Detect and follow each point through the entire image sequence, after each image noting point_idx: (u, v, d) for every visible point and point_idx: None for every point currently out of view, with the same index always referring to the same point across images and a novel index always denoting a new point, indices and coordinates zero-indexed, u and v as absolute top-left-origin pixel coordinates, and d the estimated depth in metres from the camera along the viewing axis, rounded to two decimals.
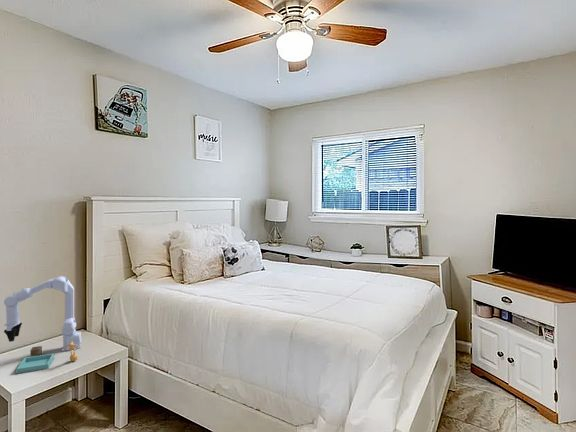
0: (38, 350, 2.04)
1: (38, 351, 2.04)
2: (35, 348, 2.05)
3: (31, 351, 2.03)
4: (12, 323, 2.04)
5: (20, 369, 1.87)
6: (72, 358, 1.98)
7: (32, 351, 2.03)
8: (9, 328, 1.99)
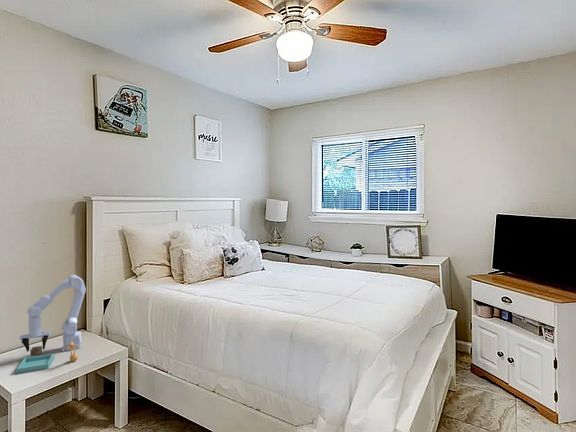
0: (38, 350, 2.04)
1: (38, 351, 2.04)
2: (35, 348, 2.05)
3: (31, 351, 2.03)
4: (29, 334, 2.04)
5: (20, 369, 1.87)
6: (72, 358, 1.98)
7: (32, 351, 2.03)
8: None
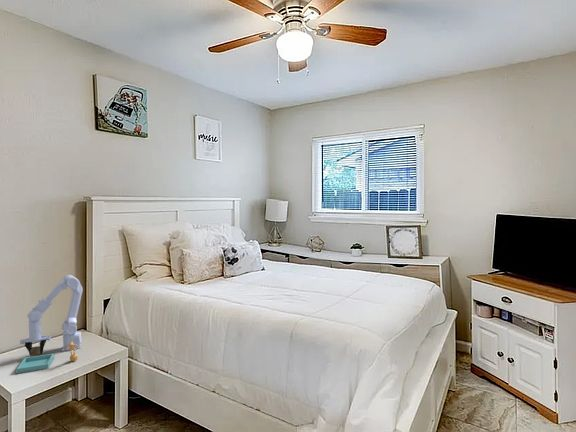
0: (38, 350, 2.04)
1: (38, 351, 2.04)
2: (35, 348, 2.05)
3: (31, 351, 2.03)
4: (29, 338, 2.04)
5: (20, 369, 1.87)
6: (72, 358, 1.98)
7: (32, 351, 2.03)
8: None
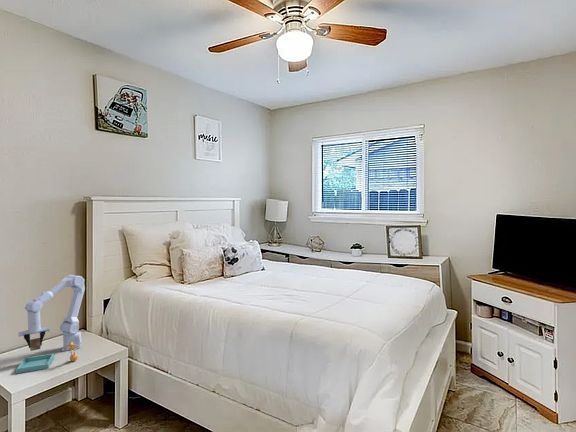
0: (38, 341, 1.99)
1: (38, 342, 1.99)
2: (34, 340, 2.00)
3: (31, 343, 1.97)
4: (28, 330, 1.98)
5: (20, 369, 1.87)
6: (72, 358, 1.98)
7: (32, 343, 1.97)
8: None
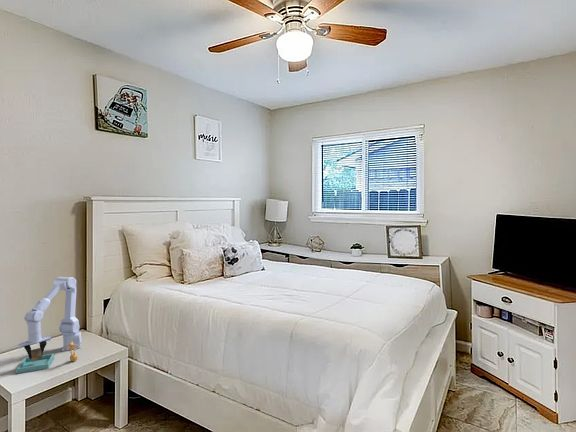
0: (40, 351, 1.95)
1: (40, 353, 1.95)
2: (34, 350, 1.94)
3: (32, 354, 1.92)
4: (29, 340, 1.92)
5: (20, 369, 1.87)
6: (72, 358, 1.98)
7: (33, 353, 1.92)
8: (18, 345, 1.89)
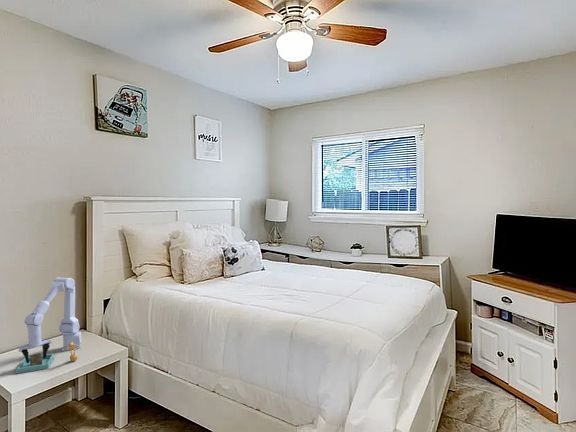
0: (40, 357, 1.95)
1: (40, 358, 1.95)
2: (34, 355, 1.95)
3: (33, 359, 1.92)
4: (29, 344, 1.92)
5: (20, 369, 1.87)
6: (72, 358, 1.98)
7: (34, 359, 1.93)
8: (19, 349, 1.89)
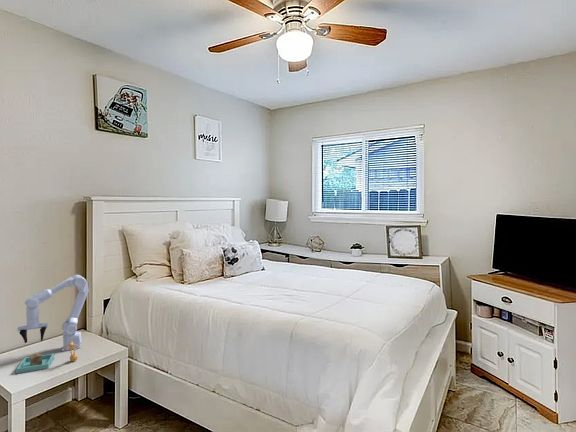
0: (40, 357, 1.95)
1: (40, 358, 1.95)
2: (34, 355, 1.95)
3: (33, 359, 1.92)
4: (27, 325, 2.03)
5: (20, 369, 1.87)
6: (72, 358, 1.98)
7: (34, 359, 1.93)
8: None
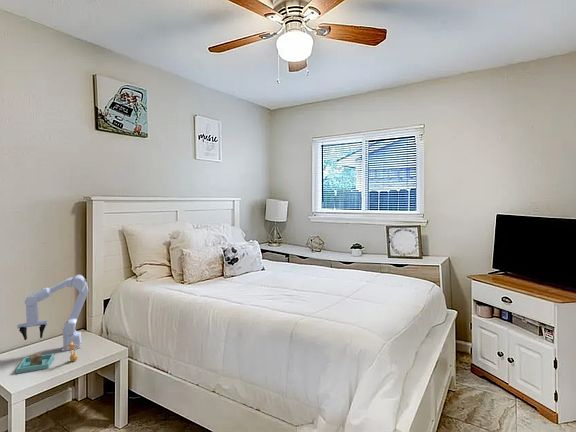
0: (40, 357, 1.95)
1: (40, 358, 1.95)
2: (34, 355, 1.95)
3: (33, 359, 1.92)
4: None
5: (20, 369, 1.87)
6: (72, 358, 1.98)
7: (34, 359, 1.93)
8: None
